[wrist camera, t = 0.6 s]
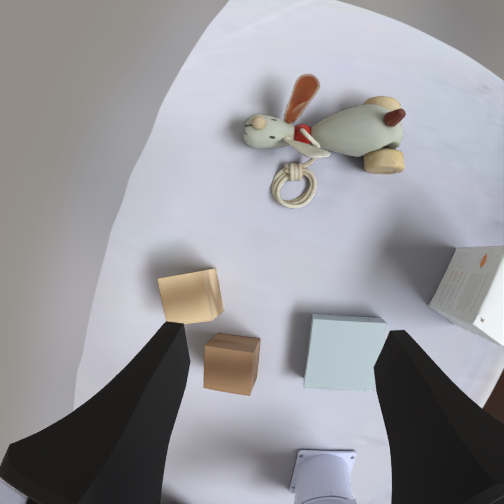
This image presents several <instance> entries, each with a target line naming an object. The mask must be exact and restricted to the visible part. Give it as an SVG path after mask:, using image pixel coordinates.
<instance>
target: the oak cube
mask: <svg viewBox="0 0 504 504" xmlns="http://www.w3.org/2000/svg"><path fill="white" fill-rule="evenodd" d="M158 284H159V289H160V294H161V299H162V304H163V309H164V314H165V319H166V321H169V322H177V323H184V324H189V323H198V322H206V321H212V320H213V319H215V318H216V317H217V316H218V315H220V314H221V313H222V312H224V308H223V303H222V298H221V293H220V287H219V282H218V277H217V271H216V268H215V269H209V270H203V271H198V272H192V273H186V274H181V275H175V276H170V277H165V278H159V279H158Z"/></svg>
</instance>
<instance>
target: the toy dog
mask: <svg viewBox="0 0 504 504" xmlns="http://www.w3.org/2000/svg"><path fill="white" fill-rule="evenodd" d="M319 89H320V82H319V80H318V78H316V77H315V76H314V75H312V74H304V75H301V76H300V77H299V78H298V79H297V80H296V82H295V85H294V88H293V91H292V93H291V96H290V99H289V102H288V104H287V108H286V111H285V114H284V120H282V119H279V118H276V117H273V116H269V115H264V114H254V115H252V116H250V117H248V118H247V119H246V121H245V124H244V136H243V138H244V141H245V142H246V144H247V145H249V146H250V147H252V148H257V149H268V148H278V147H284V146H288V145H291V146H292V147H293V148H294V149H295V150H297V151H298V152H299V153H301V154H302V155H304V156H306V157H309V158H311V159H310V160H309V161H307V162H306V163H304V164H302V163H300V162H299V163H289V164H288V163H286V164H284V168H283V169H281V170H280V171H279V172H278V173H277V174H276V176H275V177H274V180H273V182H272V194H273V196H274V198H275V200H276V201H277V202H278V203H280V204H281V205H283V206H285V207H288V208H301V207H303V206H305V205H306V204H308V203H309V202H310V201H311V199H312V198H313V196H314V194H315V192H316V187H317V180H316V177H315V175H314V173H313V172H312V171H310V170H309V169H307V168H306V167H308V166H309V165H311V164H312V163H313V162H314V161H315V160H316V159H317V158H325V157H329V156H330V152H329V151H327V150H330V151H333V152H337V153H340V154H345V155H349V156H355V157H360V156H362V155H364V156H363V157H364V168H365V170H366V171H367V172H369V173H374V174H395V173H400V172H402V171H403V170H404V168H405V167H404V158H403V153H402V152H401V151H398V150H395V149H396V148H397V147H399V145H400V144H401V141H402V138H403V128H402V125H401V122H400V121H401V120H402V119H403V118H404V117H405V115H406V113H405V111H404V110H403V109H401V105H400V103H399V101H397V100H396V99H394V98H391V97H384V96H378V97H373V98H370V99H368V100H366V101H365V102H364V104H363V105H359V106H355V107H351V108H348V109H345V110H342V111H340V112H337V113H335V114H333V115H331V116H329V117H327V118H325V119H323V120H322V121H320V122H318V123H317V124H315V125H314V126H312V127H311V128H310V127H309V126H307V125H304V124H300V125H297V126H294V125H292V124H291V123H293V122H295V121H296V120H297V119H298V118H299V117H300V115H301V114H302V113H303V111H304V110H305V109H306V107H307V106H308V105H309V103H310V102H311V100H312V99H313V98H314V97H315V95H316V94H317V92H318V91H319ZM310 143H312V144H313V145H314V146H312V145H309V144H310ZM315 146H316V147H315ZM320 147H321V148H324V149H327V150H324V149H321V148H320ZM304 175H305V176H306V177H307V178H308V179H309V182H310V186H309V188H308V189H307V191H306V192H305V193H304V194H303V195H302V196H300V197H298V198H296V199H293V200H288V201H285V200H282V199H281V197H280V189H281V187H282V185H283V184H284V183H285V182H286V180H288V179H289V180H290V181H293V180H298V181H301V179H302V177H303V176H304Z"/></svg>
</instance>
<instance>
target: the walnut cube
mask: <svg viewBox="0 0 504 504" xmlns="http://www.w3.org/2000/svg"><path fill="white" fill-rule="evenodd" d="M259 350H260V338H252V337H244V336H236V335H229V334H221V333H218V334H217V335H216V336H214V337H213V338H212V339H211V340H210V341H209V342H208V343H207V344H206V345H205V352H204V387H203V388H206V389H212V390H217V391H222V392H228V393H234V394H240V395H247V396H250V394H251V391H252V389H253V386H254V384H255V381H256V379H257V372H258V361H259Z"/></svg>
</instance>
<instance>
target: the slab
mask: <svg viewBox="0 0 504 504" xmlns="http://www.w3.org/2000/svg"><path fill="white" fill-rule="evenodd" d="M386 328H387V322H385V321H384V320H383V319H382V318H376V317H357V316H340V315H326V314H313V313H312V321H311V330H310V338H309V345H308V353H307V360H306V367H305V373H304V388H308V389H324V390H348V391H374V387H375V376H374V368H373V367H374V365H375V363H376V361H377V359H378V356H379V354H380V352H381V350H382V348H383V345H384V340H385V334H386Z"/></svg>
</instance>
